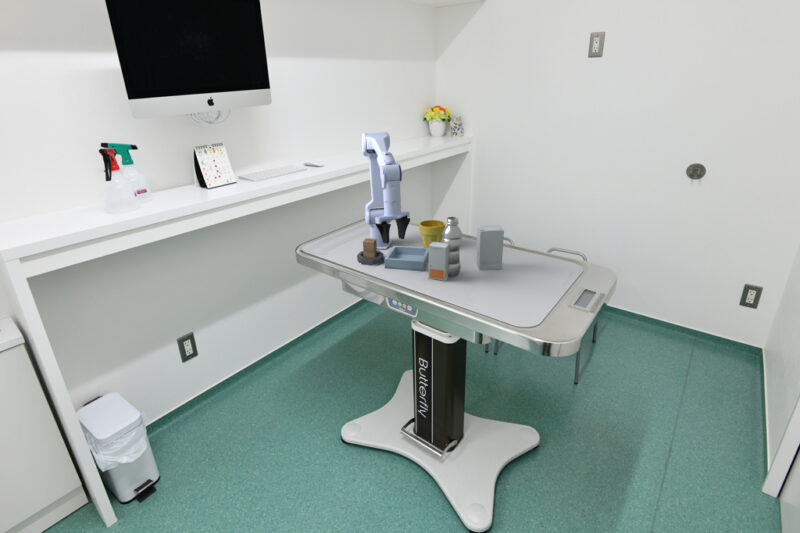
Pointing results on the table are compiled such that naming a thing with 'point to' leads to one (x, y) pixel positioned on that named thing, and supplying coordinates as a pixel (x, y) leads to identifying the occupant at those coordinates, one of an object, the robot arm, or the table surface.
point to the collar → (370, 259)
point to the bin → (407, 258)
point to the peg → (370, 248)
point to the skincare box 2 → (489, 247)
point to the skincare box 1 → (438, 261)
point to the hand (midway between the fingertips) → (393, 240)
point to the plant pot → (431, 231)
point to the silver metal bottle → (453, 245)
